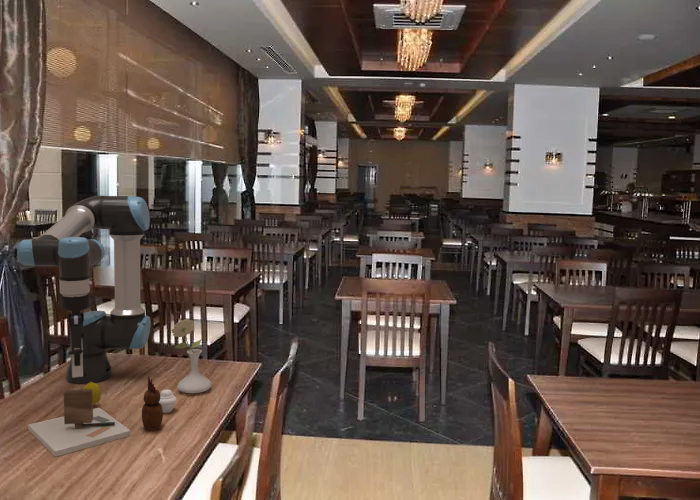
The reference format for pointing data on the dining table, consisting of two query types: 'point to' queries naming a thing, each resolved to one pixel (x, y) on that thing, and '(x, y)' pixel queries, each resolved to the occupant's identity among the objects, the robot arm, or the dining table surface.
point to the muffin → (167, 401)
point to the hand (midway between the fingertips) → (77, 368)
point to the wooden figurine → (152, 408)
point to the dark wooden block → (80, 408)
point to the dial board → (77, 433)
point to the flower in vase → (194, 379)
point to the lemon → (94, 391)
